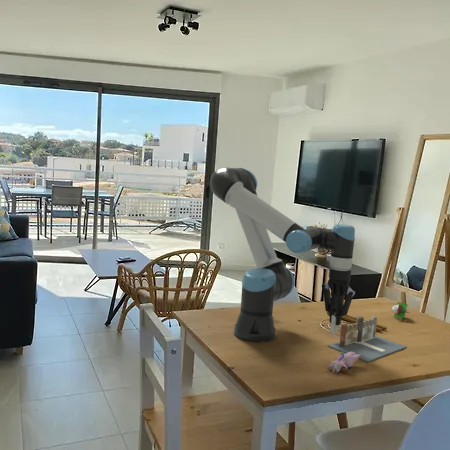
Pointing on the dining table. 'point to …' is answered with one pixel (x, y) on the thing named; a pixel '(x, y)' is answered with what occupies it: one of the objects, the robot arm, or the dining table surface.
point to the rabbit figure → (343, 361)
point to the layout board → (370, 348)
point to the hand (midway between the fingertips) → (334, 332)
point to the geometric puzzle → (400, 310)
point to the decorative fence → (354, 319)
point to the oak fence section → (348, 334)
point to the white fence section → (366, 328)
